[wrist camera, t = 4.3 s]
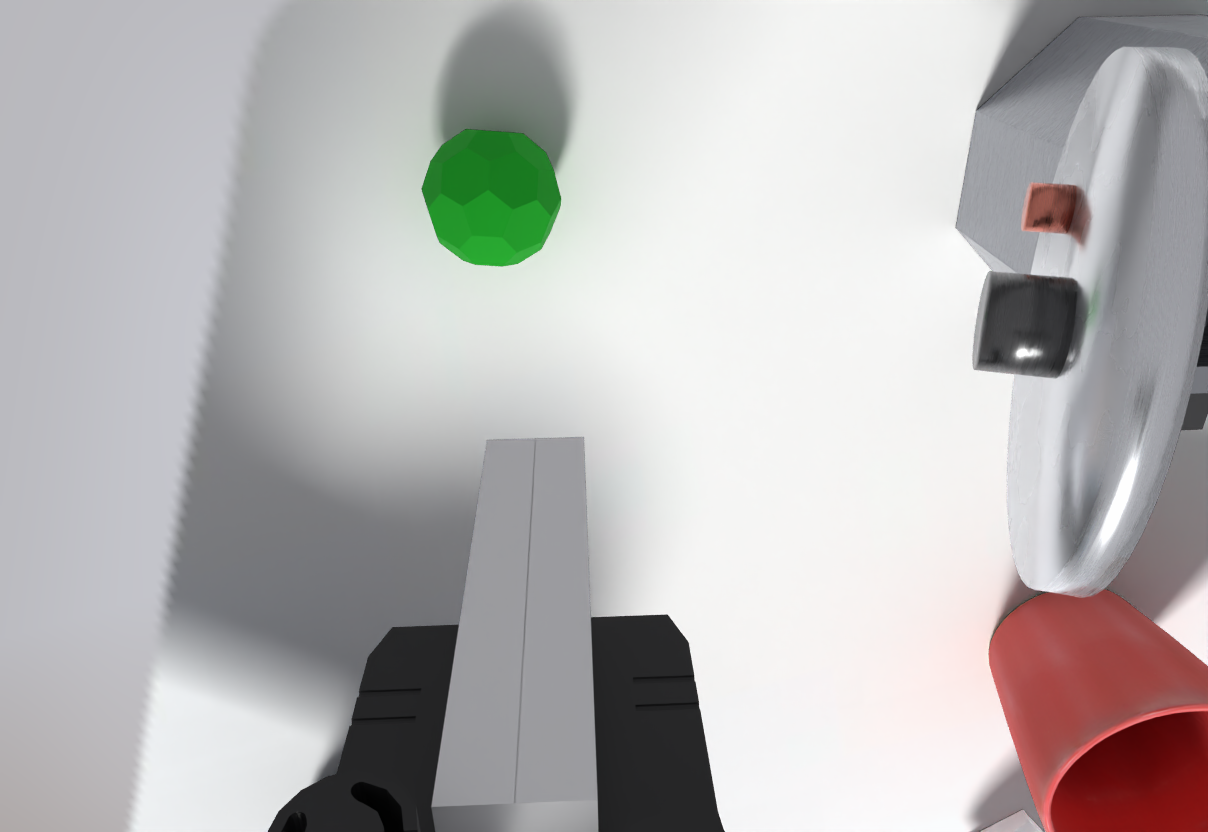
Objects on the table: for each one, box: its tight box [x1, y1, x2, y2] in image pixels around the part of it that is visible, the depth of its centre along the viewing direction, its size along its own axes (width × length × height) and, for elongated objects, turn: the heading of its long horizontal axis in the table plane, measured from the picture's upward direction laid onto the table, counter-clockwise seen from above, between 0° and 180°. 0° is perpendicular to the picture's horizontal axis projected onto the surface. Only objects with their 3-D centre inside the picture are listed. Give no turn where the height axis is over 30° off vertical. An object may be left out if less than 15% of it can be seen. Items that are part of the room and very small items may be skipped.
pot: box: [956, 15, 1208, 430], centre depth 31 cm, size 11×15×9 cm
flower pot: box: [989, 589, 1208, 832], centre depth 43 cm, size 11×11×10 cm
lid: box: [973, 47, 1208, 598], centre depth 22 cm, size 13×12×3 cm
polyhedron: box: [422, 129, 561, 266], centre depth 33 cm, size 5×5×5 cm
